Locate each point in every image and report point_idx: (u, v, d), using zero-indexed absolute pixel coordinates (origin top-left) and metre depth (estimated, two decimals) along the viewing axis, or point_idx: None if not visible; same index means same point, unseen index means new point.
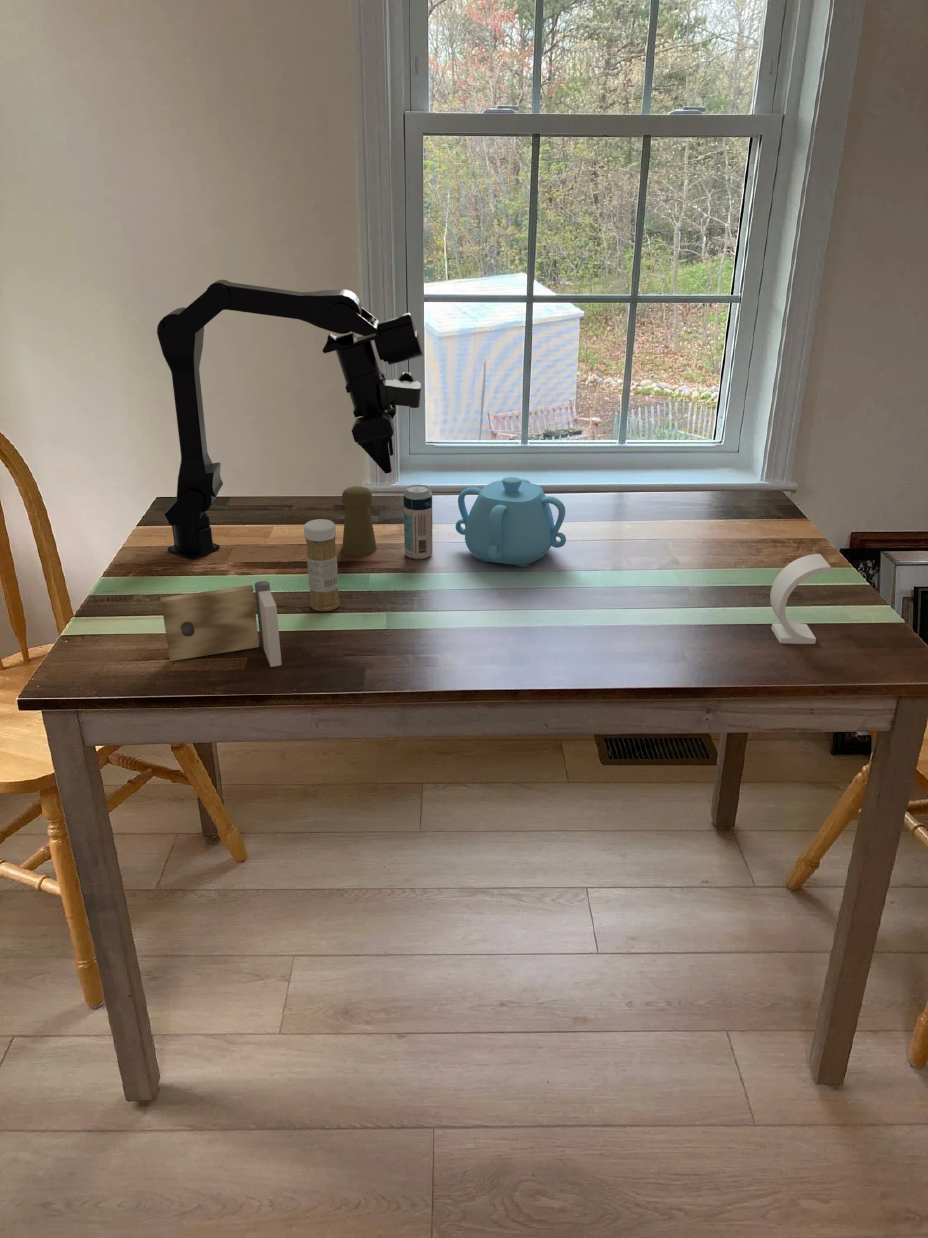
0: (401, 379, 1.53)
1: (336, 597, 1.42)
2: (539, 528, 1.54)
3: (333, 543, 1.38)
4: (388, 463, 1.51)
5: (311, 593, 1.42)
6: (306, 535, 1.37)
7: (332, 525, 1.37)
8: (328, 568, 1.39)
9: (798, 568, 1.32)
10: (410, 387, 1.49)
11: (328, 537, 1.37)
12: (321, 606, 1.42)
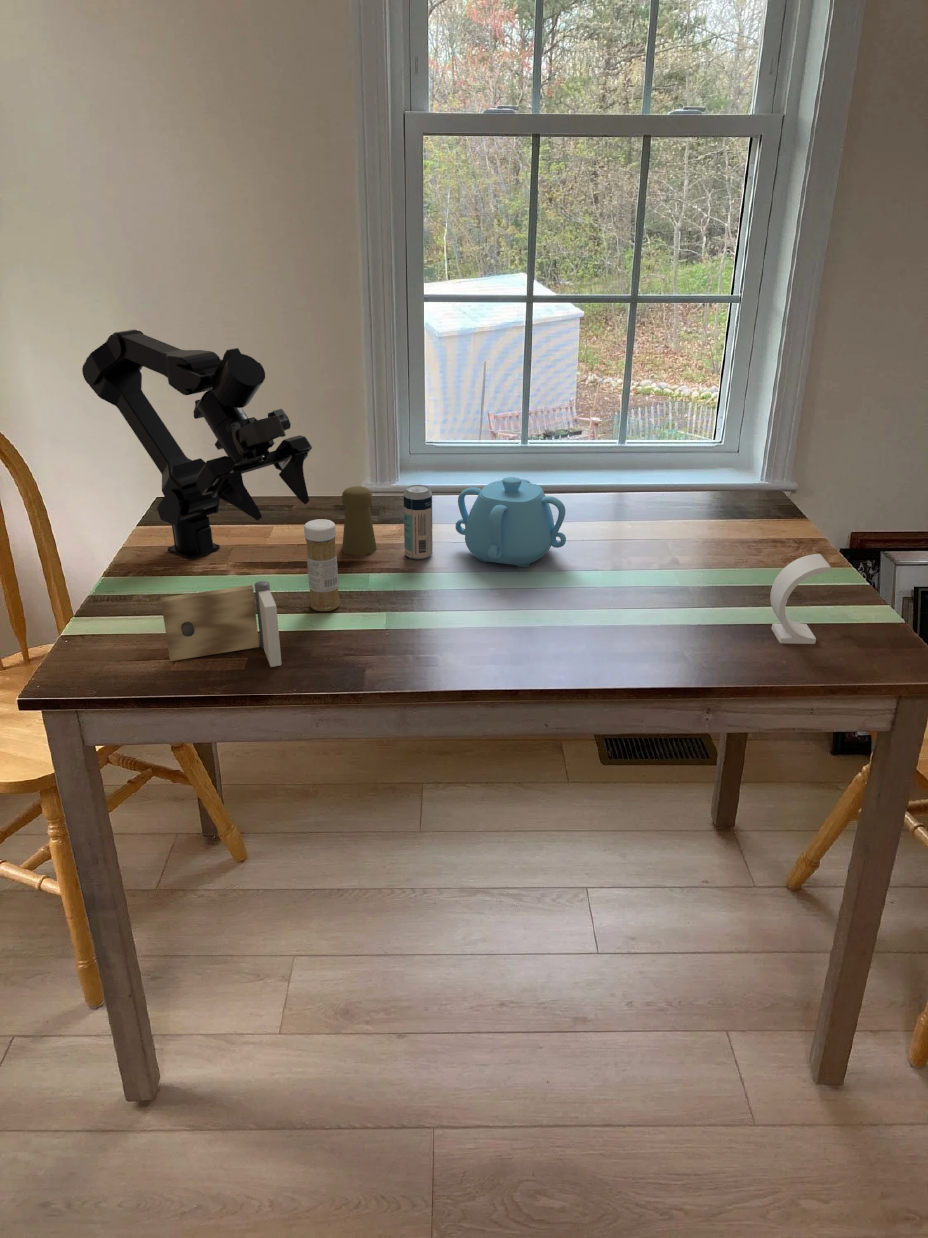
0: None
1: (336, 597, 1.42)
2: (539, 528, 1.54)
3: (333, 543, 1.38)
4: (251, 508, 1.38)
5: (311, 593, 1.42)
6: (306, 535, 1.37)
7: (332, 525, 1.37)
8: (328, 568, 1.39)
9: (798, 568, 1.32)
10: None
11: (329, 537, 1.37)
12: (321, 606, 1.42)
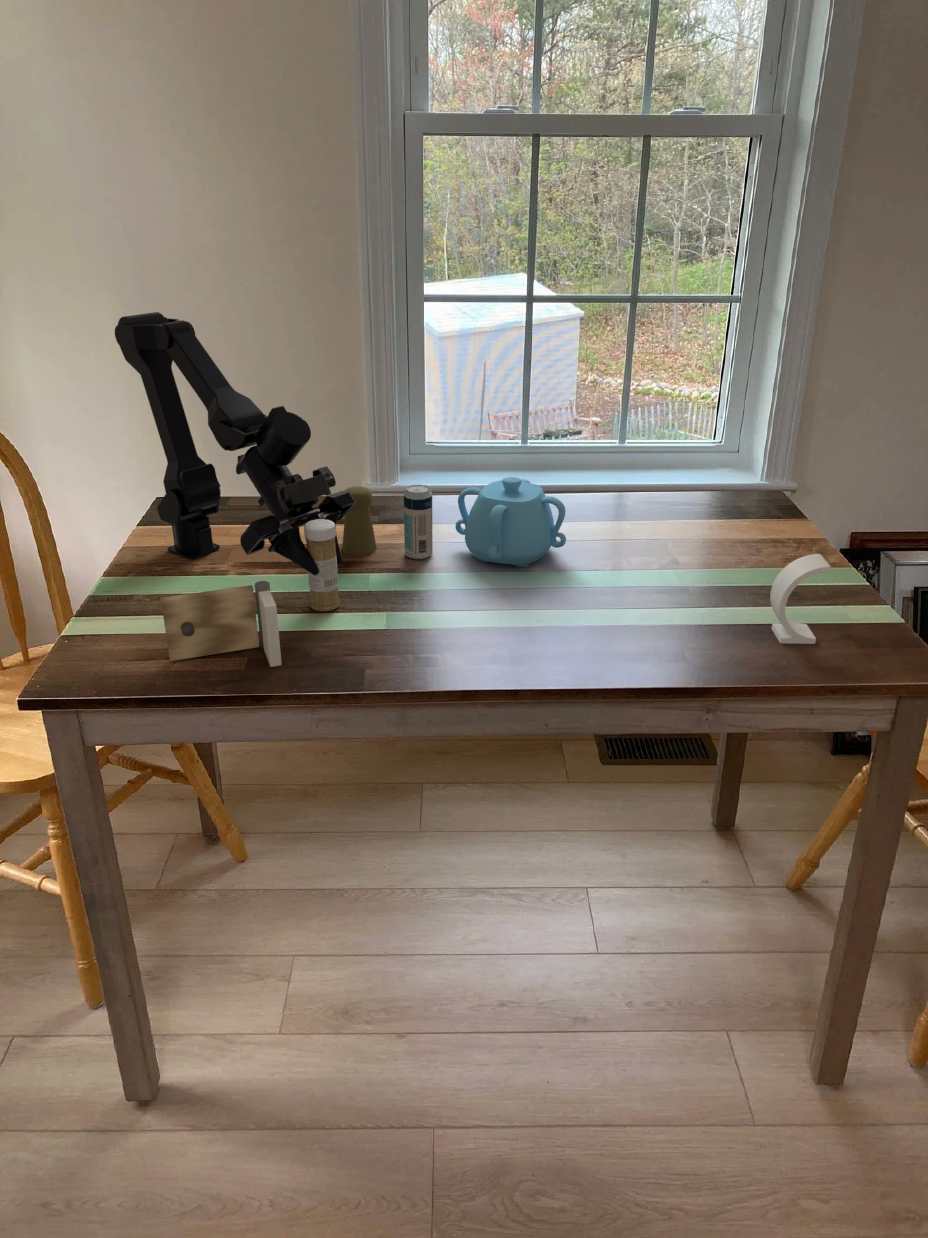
0: (313, 476, 1.39)
1: (336, 597, 1.42)
2: (539, 528, 1.54)
3: (333, 543, 1.38)
4: (309, 564, 1.38)
5: (311, 593, 1.42)
6: (306, 535, 1.37)
7: (332, 525, 1.37)
8: (328, 568, 1.39)
9: (798, 568, 1.32)
10: None
11: (329, 537, 1.37)
12: (321, 606, 1.42)
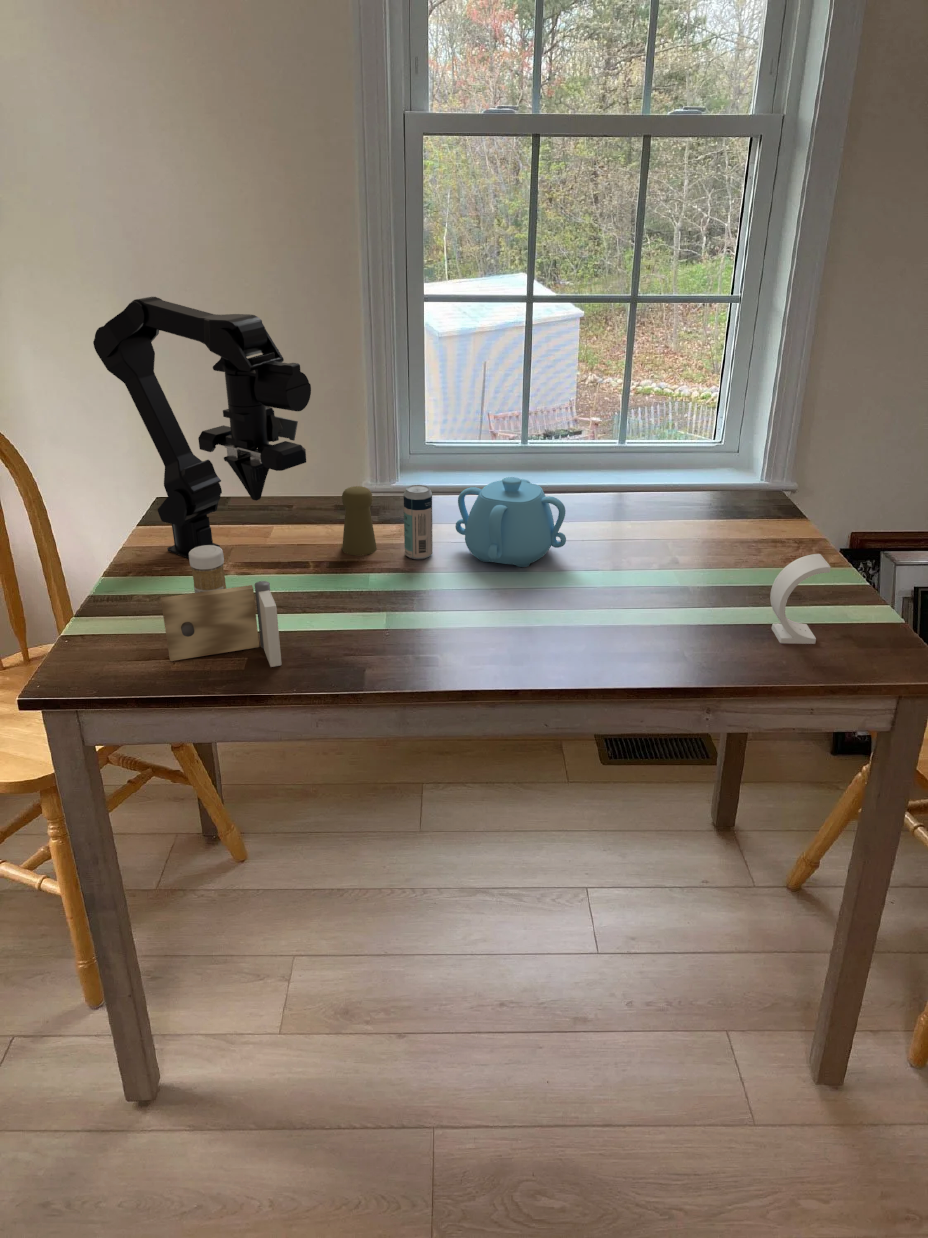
0: None
1: None
2: (539, 528, 1.54)
3: (215, 573, 1.29)
4: (261, 489, 1.50)
5: None
6: None
7: (214, 554, 1.27)
8: None
9: (798, 568, 1.32)
10: None
11: (207, 566, 1.27)
12: None
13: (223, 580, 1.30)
